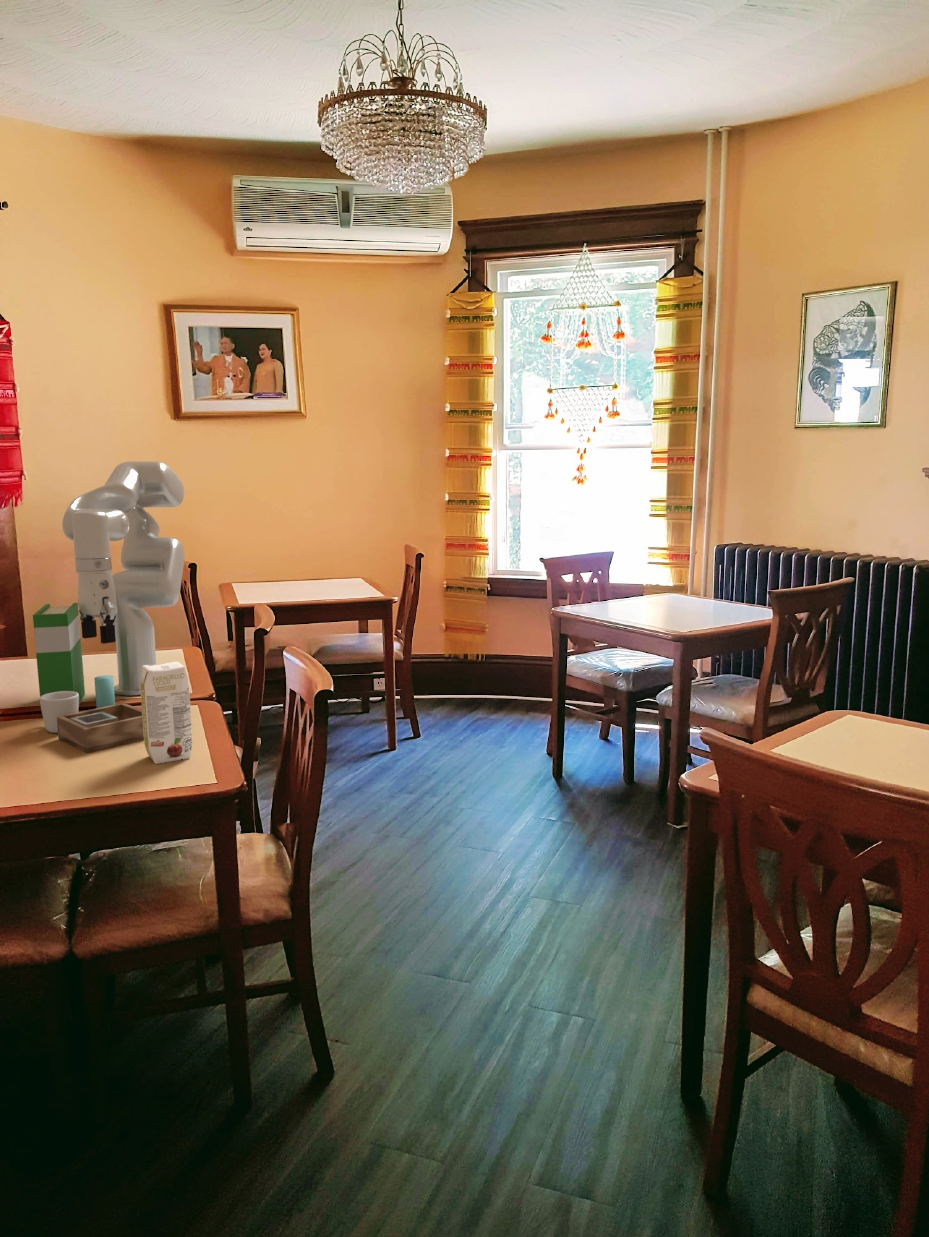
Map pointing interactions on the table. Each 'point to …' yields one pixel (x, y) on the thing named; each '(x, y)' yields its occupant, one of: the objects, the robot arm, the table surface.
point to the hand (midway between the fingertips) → (98, 640)
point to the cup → (58, 707)
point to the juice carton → (166, 712)
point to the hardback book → (59, 650)
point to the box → (102, 728)
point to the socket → (95, 719)
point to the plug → (104, 691)
